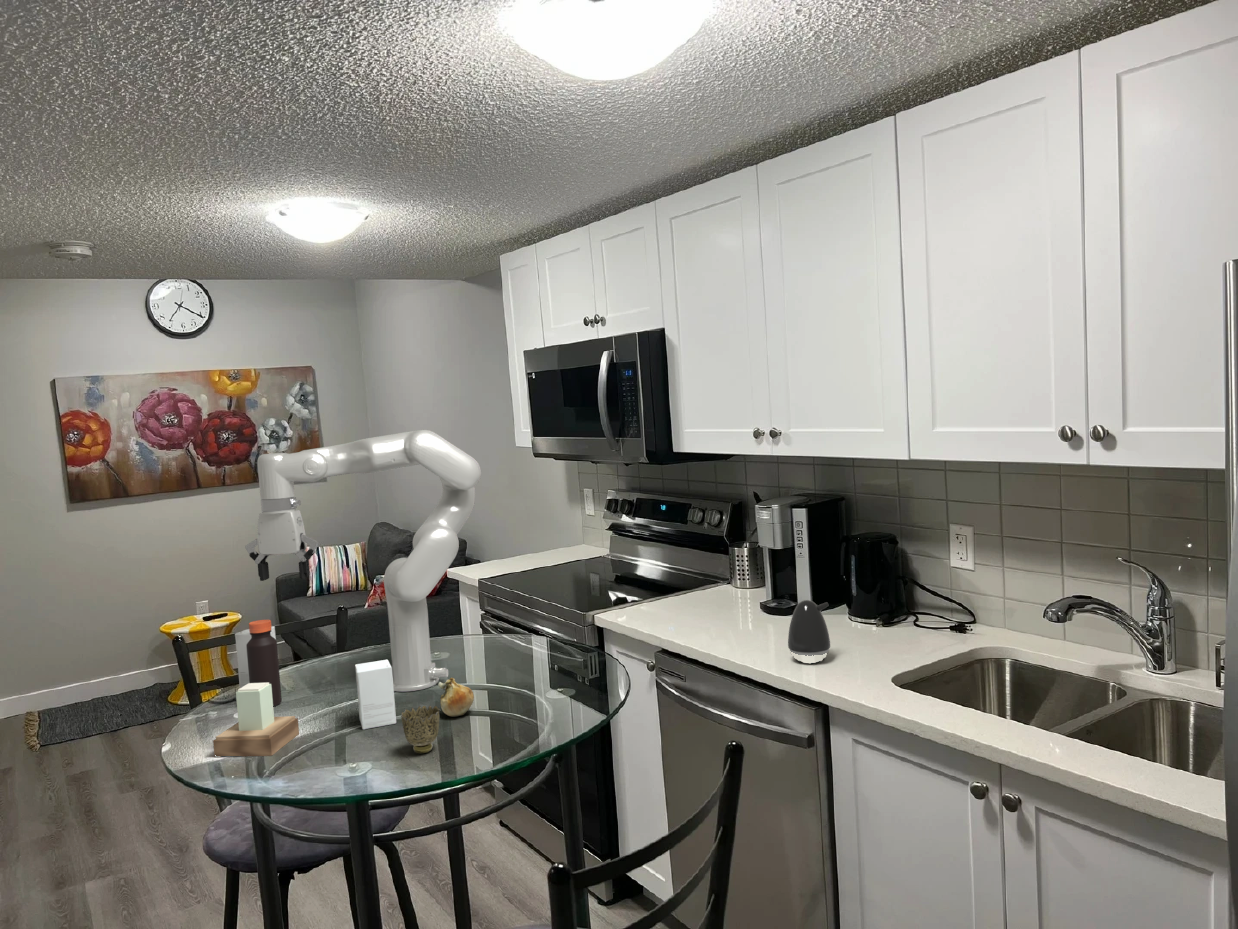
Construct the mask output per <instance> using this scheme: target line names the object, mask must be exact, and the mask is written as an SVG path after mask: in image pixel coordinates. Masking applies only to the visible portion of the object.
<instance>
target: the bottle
mask: <svg viewBox="0 0 1238 929" xmlns="http://www.w3.org/2000/svg"><path fill="white" fill-rule="evenodd" d="M271 626H272V620H271V619H258V620H257V619H256V620H253V621H250V622H249V623H248V629H249V632H250V635H251V639H250V641H249V642H248V643H247V645H246V647H247V659H248V671H249V682H250V683H268V682H269V684H271V687H272V699H273V706H274V707H277V706H279V705H280V704H281V703H282V702H283V700H282V687H281V673H280V662H279V653H278V642H277V638H276V639H275V638H273V637H272V636H271V634H270V632H271V629H272V628H271Z"/></svg>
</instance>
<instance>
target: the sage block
mask: <svg viewBox="0 0 1238 929" xmlns="http://www.w3.org/2000/svg"><path fill="white" fill-rule="evenodd" d="M235 700H236V708H237V723H239V731H249V730H263V729H265V728H266V727H268V726H269V725H270V724H272V723H273V722H274V717H275V713H274V707H273V699H272V687H271V684H269V682H268V683H248V684H247V685H245V686H243V687H242V688H240V687H239V688H238V689H237V691H235Z"/></svg>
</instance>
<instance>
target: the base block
mask: <svg viewBox="0 0 1238 929" xmlns="http://www.w3.org/2000/svg"><path fill="white" fill-rule="evenodd" d="M299 734H300V727H299V718H298V717H296V716H293V715H292V716H291V715H290V716H274V722H273V723H272V724H270V725H269V726H268V727H266V728H265V729H263V730H249V731H239V723H238V722H236V723H235V724H233V725H232V726H231V727H229V728H227V729H226V730H224V731H223V732H221V733H220V734H218V735H216V736H215V739H213V740H212V743H213V755H214V757H215V755H216V756H242V757H266V756H267V757H271V756H273V755H275V754H276V753H277V752H278V751H279V750H281V749H283V747H285V746H286V745H287V744H288V743H290V742H291V741H292V740H294V739H295V738H296V737H297V736H299Z"/></svg>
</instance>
